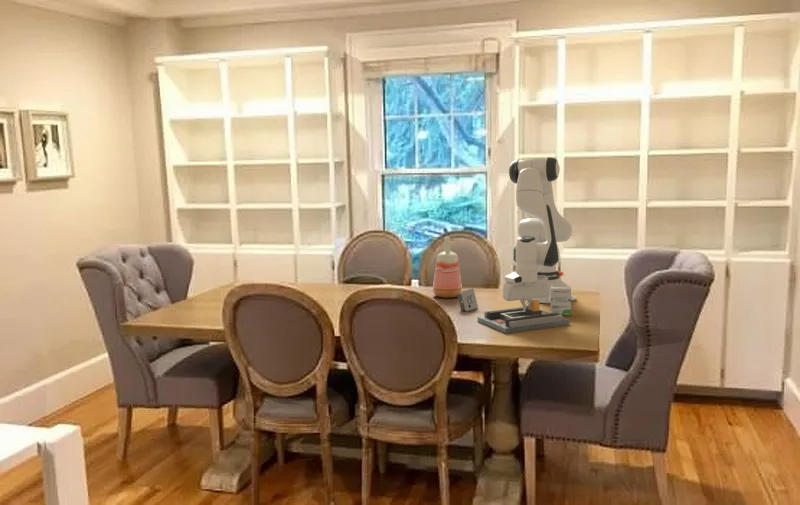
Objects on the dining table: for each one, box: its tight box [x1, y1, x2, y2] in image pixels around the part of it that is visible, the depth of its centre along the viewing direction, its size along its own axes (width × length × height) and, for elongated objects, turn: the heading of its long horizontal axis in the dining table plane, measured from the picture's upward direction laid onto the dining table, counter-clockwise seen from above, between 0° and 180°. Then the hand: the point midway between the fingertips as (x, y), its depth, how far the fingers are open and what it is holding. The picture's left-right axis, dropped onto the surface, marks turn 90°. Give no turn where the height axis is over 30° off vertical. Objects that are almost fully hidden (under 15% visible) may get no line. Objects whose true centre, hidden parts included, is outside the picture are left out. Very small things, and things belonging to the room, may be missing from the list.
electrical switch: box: [457, 287, 479, 312], centre depth 300 cm, size 9×5×9 cm, turn 141°
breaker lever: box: [525, 299, 543, 316], centre depth 274 cm, size 4×6×7 cm, turn 22°
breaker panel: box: [477, 310, 571, 334], centre depth 273 cm, size 30×22×4 cm
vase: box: [432, 236, 463, 299], centre depth 327 cm, size 14×14×30 cm
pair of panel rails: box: [483, 306, 564, 328], centre depth 272 cm, size 24×21×2 cm
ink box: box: [550, 286, 572, 316], centre depth 286 cm, size 9×5×12 cm, turn 76°
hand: (526, 309), depth 273 cm, fingers closed
